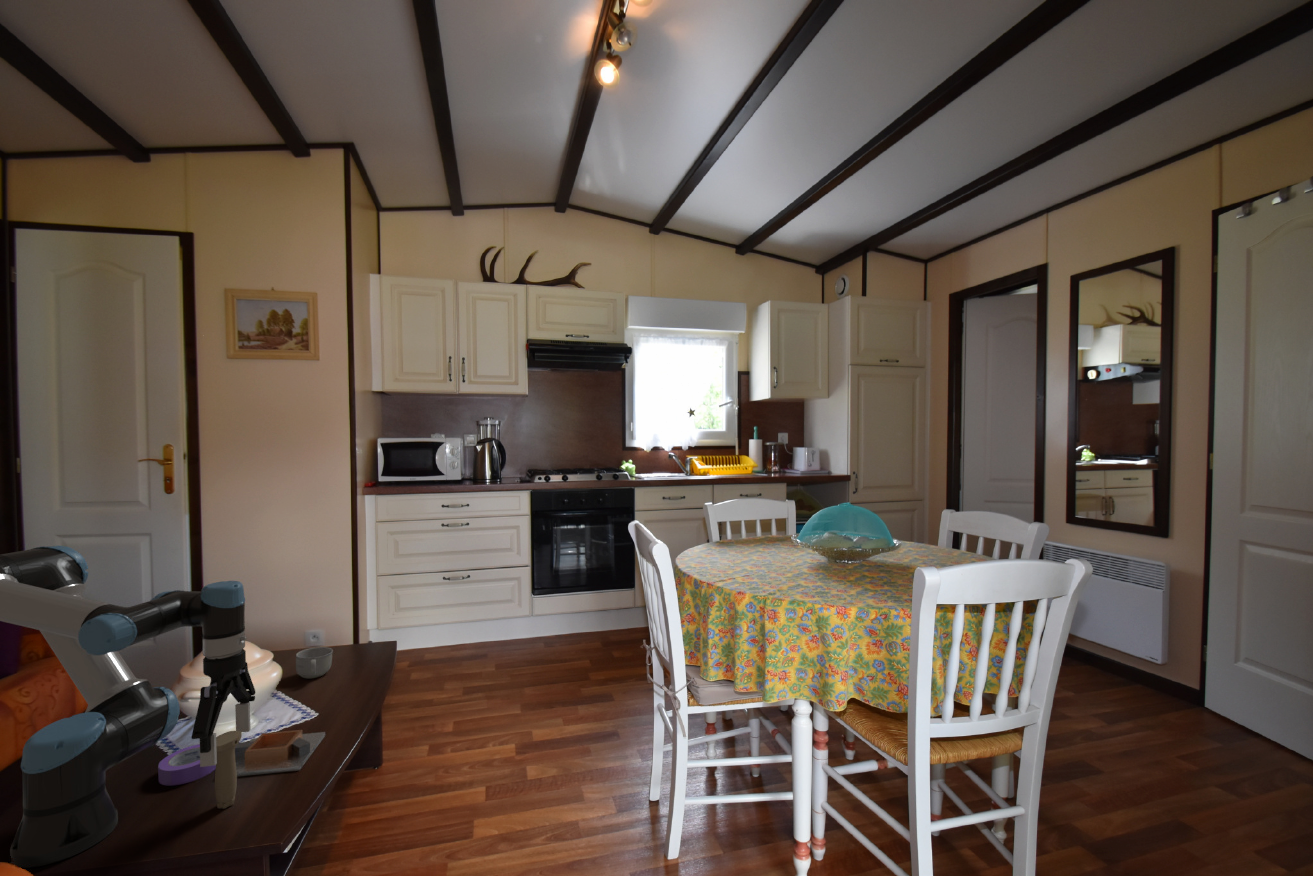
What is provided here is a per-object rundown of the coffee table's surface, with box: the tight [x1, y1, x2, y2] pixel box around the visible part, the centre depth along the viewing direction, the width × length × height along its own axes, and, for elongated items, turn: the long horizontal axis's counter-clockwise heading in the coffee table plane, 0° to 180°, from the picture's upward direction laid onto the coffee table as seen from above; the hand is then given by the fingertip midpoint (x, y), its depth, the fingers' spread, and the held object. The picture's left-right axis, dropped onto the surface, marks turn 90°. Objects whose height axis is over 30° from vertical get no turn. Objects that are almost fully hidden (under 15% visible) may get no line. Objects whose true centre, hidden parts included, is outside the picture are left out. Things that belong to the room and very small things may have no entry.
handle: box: [214, 730, 243, 810], centre depth 125 cm, size 5×6×15 cm
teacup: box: [295, 646, 334, 679], centre depth 191 cm, size 14×11×8 cm
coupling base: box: [235, 729, 326, 778], centre depth 144 cm, size 18×16×4 cm
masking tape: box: [157, 743, 216, 787], centre depth 138 cm, size 12×12×4 cm
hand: (226, 747), depth 125 cm, fingers open, 13 cm apart
